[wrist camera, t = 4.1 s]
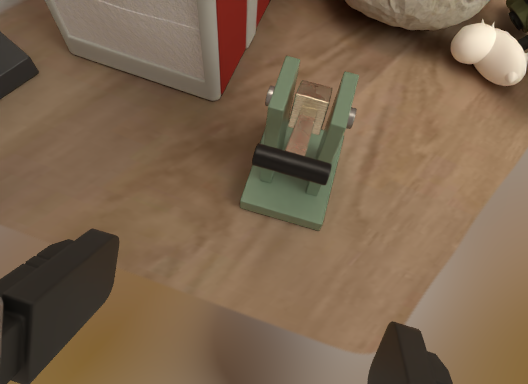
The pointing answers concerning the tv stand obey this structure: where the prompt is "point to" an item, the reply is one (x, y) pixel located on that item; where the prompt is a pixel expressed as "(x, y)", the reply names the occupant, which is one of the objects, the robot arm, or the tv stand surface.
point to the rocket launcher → (519, 18)
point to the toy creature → (491, 53)
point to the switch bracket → (320, 147)
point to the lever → (300, 137)
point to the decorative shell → (419, 12)
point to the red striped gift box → (163, 38)
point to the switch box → (13, 66)
